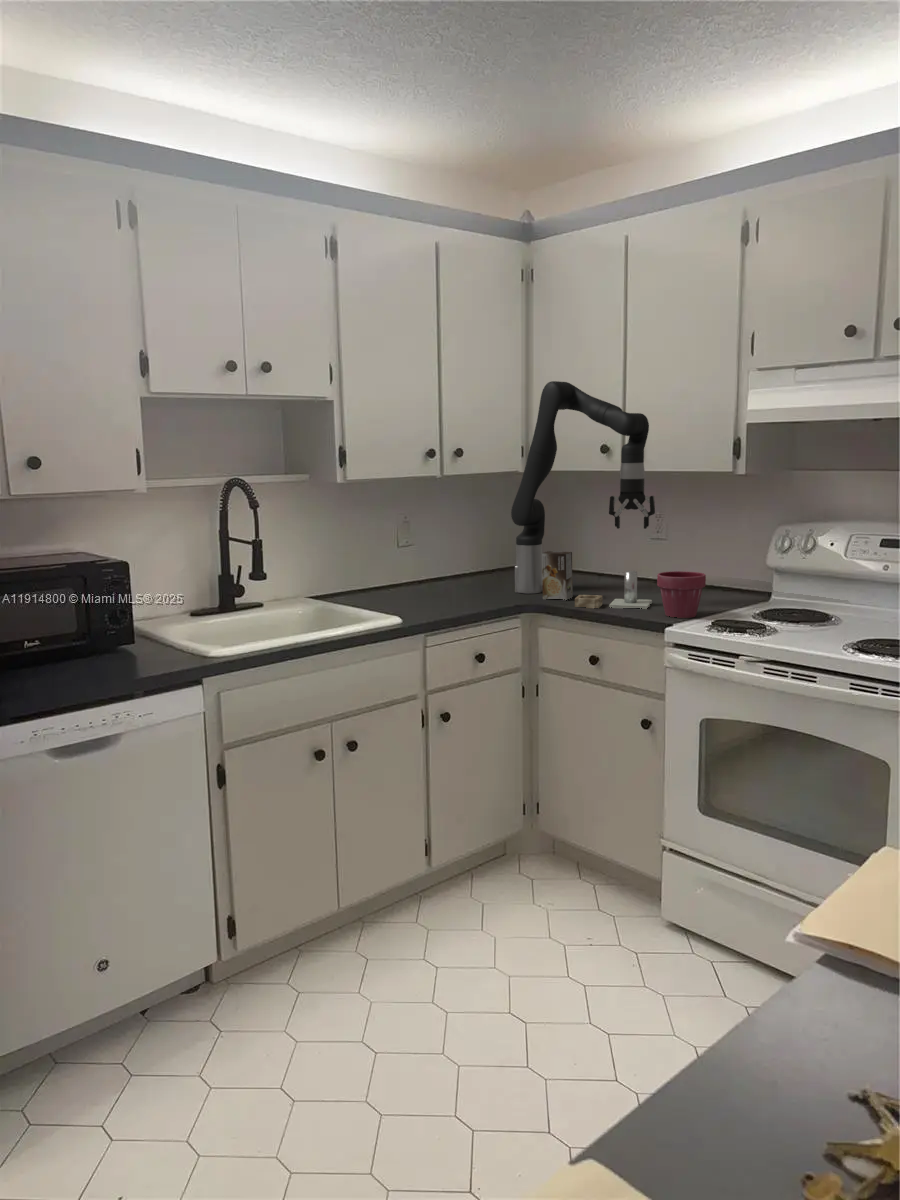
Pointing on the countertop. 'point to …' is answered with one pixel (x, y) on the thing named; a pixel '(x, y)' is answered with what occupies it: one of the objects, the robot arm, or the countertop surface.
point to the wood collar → (588, 601)
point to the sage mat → (630, 604)
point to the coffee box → (557, 575)
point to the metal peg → (630, 587)
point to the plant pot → (681, 592)
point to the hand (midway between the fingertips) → (631, 528)
